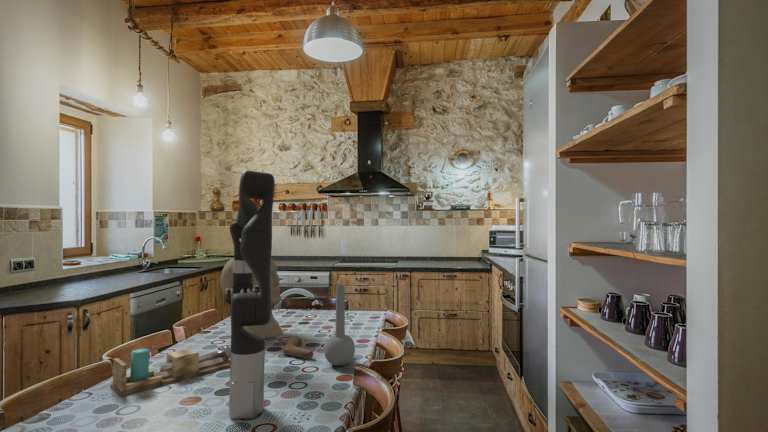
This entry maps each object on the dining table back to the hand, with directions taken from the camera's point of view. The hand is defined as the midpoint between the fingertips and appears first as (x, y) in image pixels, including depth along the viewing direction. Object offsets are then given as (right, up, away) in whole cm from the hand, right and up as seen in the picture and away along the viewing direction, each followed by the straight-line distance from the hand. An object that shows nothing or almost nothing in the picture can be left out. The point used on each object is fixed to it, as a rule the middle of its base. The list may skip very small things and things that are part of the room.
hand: (242, 313), depth 155 cm
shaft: (-12, -16, -13) cm, 24 cm away
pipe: (+21, -19, +6) cm, 29 cm away
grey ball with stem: (+38, -18, -2) cm, 42 cm away
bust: (-9, -19, +36) cm, 41 cm away
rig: (-16, -17, -18) cm, 29 cm away
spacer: (-24, -16, -27) cm, 39 cm away
